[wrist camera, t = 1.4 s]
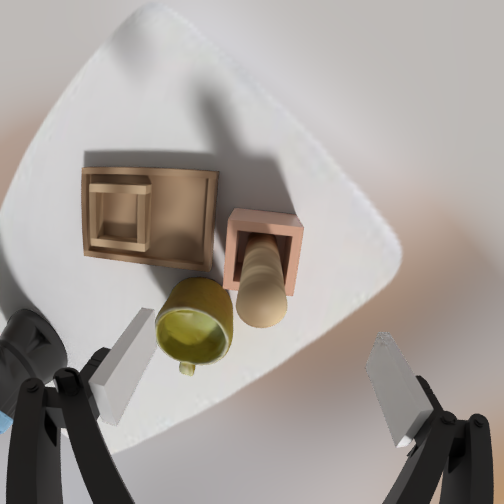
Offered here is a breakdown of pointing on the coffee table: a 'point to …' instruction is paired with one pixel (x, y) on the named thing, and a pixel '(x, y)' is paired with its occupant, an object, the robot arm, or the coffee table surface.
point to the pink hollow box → (263, 222)
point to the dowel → (261, 283)
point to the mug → (195, 323)
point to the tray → (150, 215)
